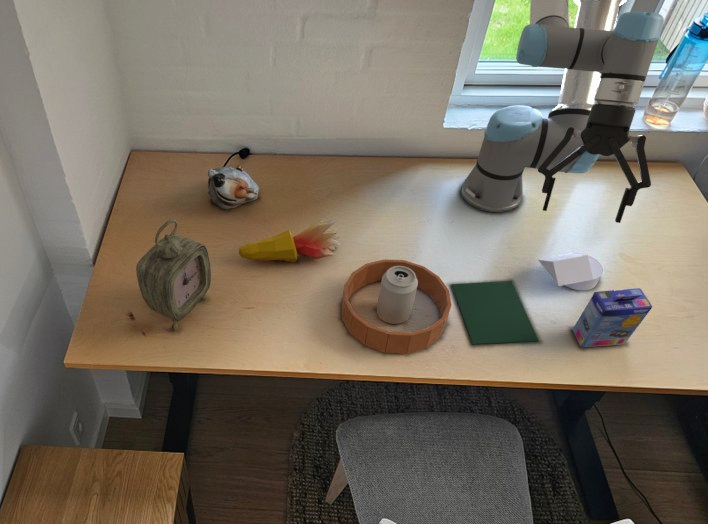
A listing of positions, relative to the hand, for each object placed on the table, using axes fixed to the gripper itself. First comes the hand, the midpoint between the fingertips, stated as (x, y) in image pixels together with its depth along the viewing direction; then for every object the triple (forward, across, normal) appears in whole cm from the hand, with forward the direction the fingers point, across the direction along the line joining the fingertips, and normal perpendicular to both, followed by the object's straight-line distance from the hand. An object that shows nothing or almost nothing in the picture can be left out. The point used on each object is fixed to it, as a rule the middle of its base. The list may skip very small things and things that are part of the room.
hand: (580, 215), depth 122 cm
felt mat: (+23, -11, -2) cm, 26 cm away
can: (+26, -31, -12) cm, 42 cm away
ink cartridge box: (+24, +10, 0) cm, 26 cm away
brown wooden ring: (+26, -31, -12) cm, 42 cm away
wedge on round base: (+16, +2, +14) cm, 22 cm away
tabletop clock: (+31, -75, -30) cm, 87 cm away
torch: (+20, -60, -5) cm, 63 cm away
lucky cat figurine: (+11, -82, +6) cm, 83 cm away
